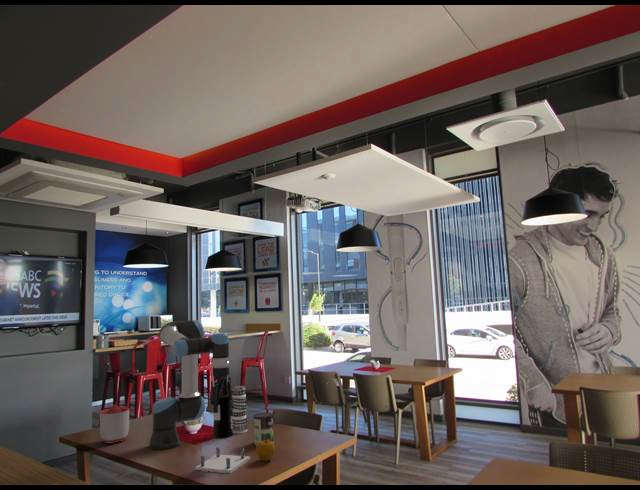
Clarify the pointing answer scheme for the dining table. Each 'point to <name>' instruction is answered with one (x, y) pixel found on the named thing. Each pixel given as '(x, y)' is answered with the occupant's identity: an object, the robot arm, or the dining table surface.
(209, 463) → the locating plate
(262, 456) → the apple
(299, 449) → the dining table surface
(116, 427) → the citrus juicer
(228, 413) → the container
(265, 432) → the coffee can
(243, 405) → the decorative candle
